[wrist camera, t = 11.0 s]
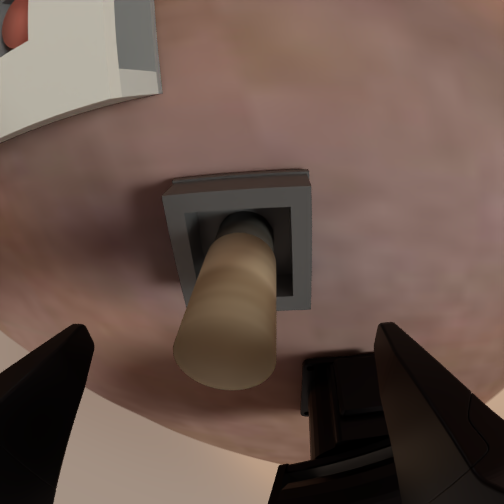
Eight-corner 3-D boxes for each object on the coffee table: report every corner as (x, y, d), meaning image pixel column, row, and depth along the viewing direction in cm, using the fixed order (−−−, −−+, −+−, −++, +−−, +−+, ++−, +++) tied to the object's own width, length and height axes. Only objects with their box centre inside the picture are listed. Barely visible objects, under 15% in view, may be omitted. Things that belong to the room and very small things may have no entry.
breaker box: (162, 93, 12) (110, 98, 8) (0, 143, 13) (-58, 168, 9) (151, -93, 7) (112, -136, 3) (-7, -12, 8) (-61, -16, 4)
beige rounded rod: (277, 262, 15) (277, 390, 9) (219, 264, 16) (185, 388, 9) (274, 207, 14) (274, 319, 7) (211, 211, 14) (161, 320, 8)
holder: (309, 283, 16) (312, 310, 14) (195, 287, 17) (186, 313, 15) (308, 169, 13) (313, 183, 12) (174, 178, 14) (158, 194, 12)
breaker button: (72, 35, 10) (46, 32, 8) (28, 57, 10) (2, 58, 9) (71, -15, 9) (47, -23, 7) (27, 9, 9) (2, 6, 7)
